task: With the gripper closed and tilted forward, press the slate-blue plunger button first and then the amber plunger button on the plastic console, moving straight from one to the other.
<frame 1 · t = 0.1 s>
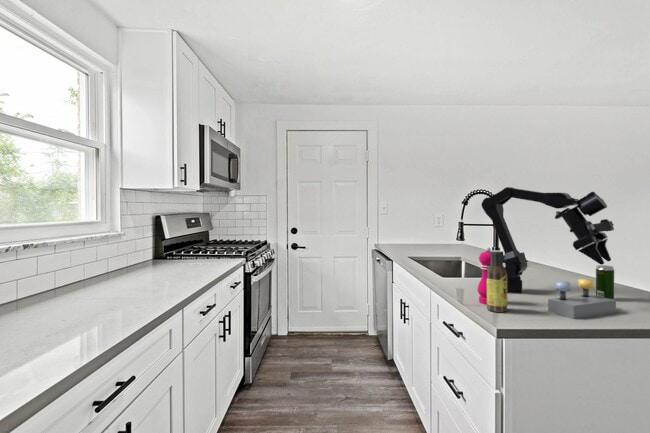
hand: (606, 262, 128), 15 cm above the counter, tool tilted 35°, fingers open, 9 cm apart
sauce bottle: (497, 310, 126), on the counter
blue button: (562, 291, 123), point 7 cm above the counter, slide at 0.0 cm
console: (581, 311, 123), on the counter
beer can: (604, 299, 137), on the counter
pepper mill: (488, 302, 136), on the counter
amber button: (585, 288, 126), point 7 cm above the counter, slide at 0.0 cm
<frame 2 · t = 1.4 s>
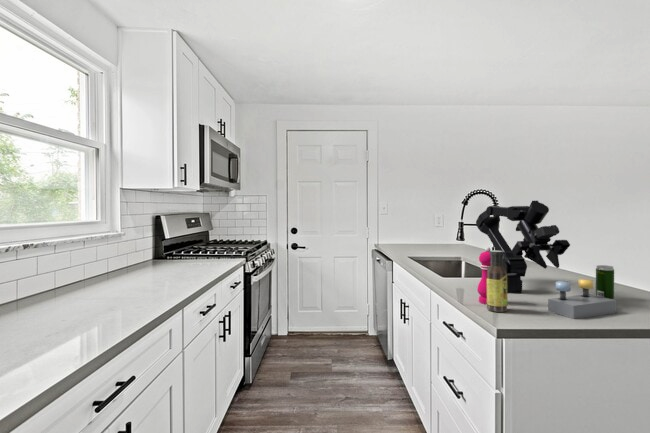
hand: (552, 267, 128), 14 cm above the counter, tool tilted 45°, fingers open, 4 cm apart
nothing on the counter moved.
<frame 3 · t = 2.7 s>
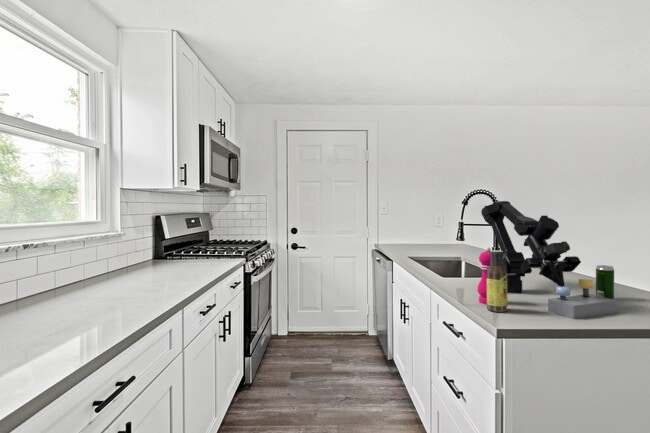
hand: (562, 285, 123), 8 cm above the counter, tool tilted 45°, fingers closed, pressing on blue button
blue button: (562, 295, 123), point 5 cm above the counter, slide at 1.4 cm, touching gripper
everything else where it was.
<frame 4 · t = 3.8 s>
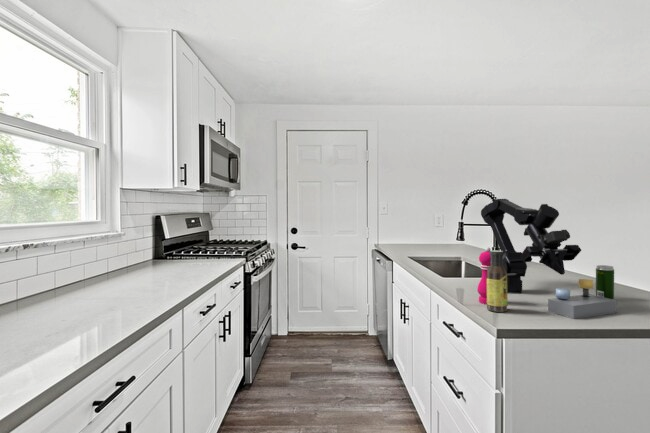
hand: (563, 273, 123), 12 cm above the counter, tool tilted 45°, fingers closed
blue button: (562, 298, 123), point 4 cm above the counter, slide at 2.4 cm
everything else where it was.
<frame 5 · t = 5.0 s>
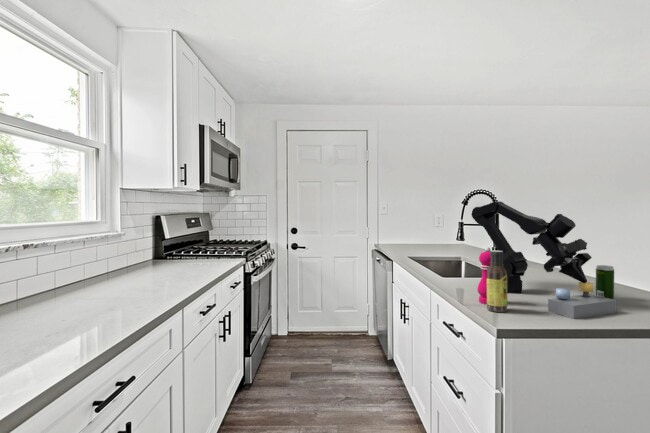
hand: (585, 282, 126), 9 cm above the counter, tool tilted 45°, fingers closed, pressing on amber button
amber button: (585, 291, 126), point 6 cm above the counter, slide at 1.1 cm, touching gripper
everything else where it was.
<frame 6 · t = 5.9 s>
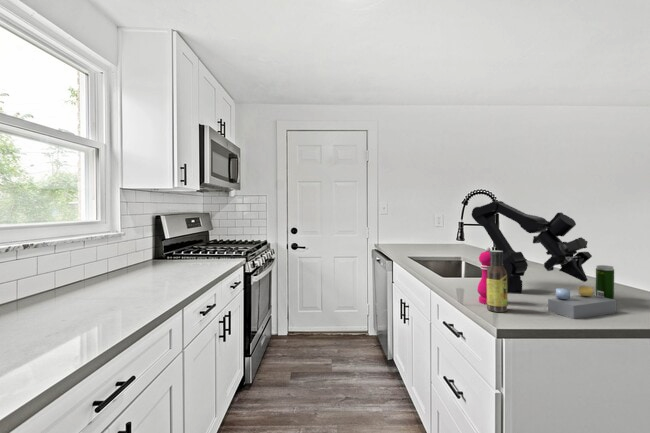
hand: (586, 281, 126), 9 cm above the counter, tool tilted 45°, fingers closed
amber button: (585, 295, 126), point 4 cm above the counter, slide at 2.4 cm
everything else where it was.
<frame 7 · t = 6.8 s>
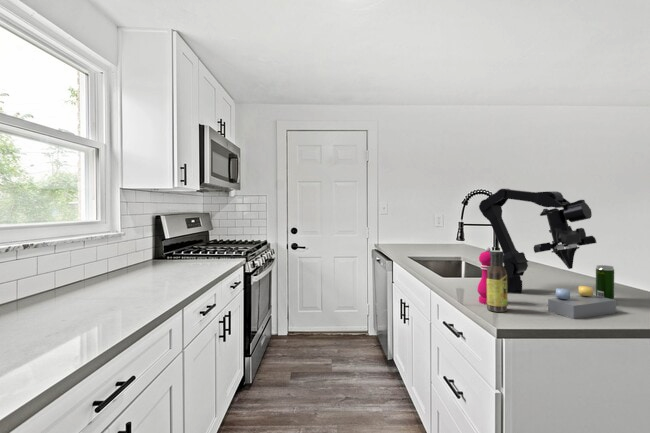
hand: (570, 268, 133), 12 cm above the counter, tool pointing down, fingers closed
nothing on the counter moved.
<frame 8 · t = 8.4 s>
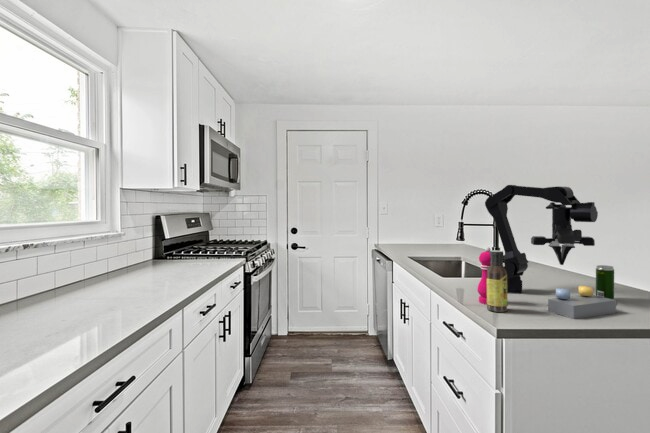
hand: (561, 264, 136), 13 cm above the counter, tool pointing down, fingers closed
nothing on the counter moved.
at the end: blue button slide at 2.4 cm; amber button slide at 2.4 cm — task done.
